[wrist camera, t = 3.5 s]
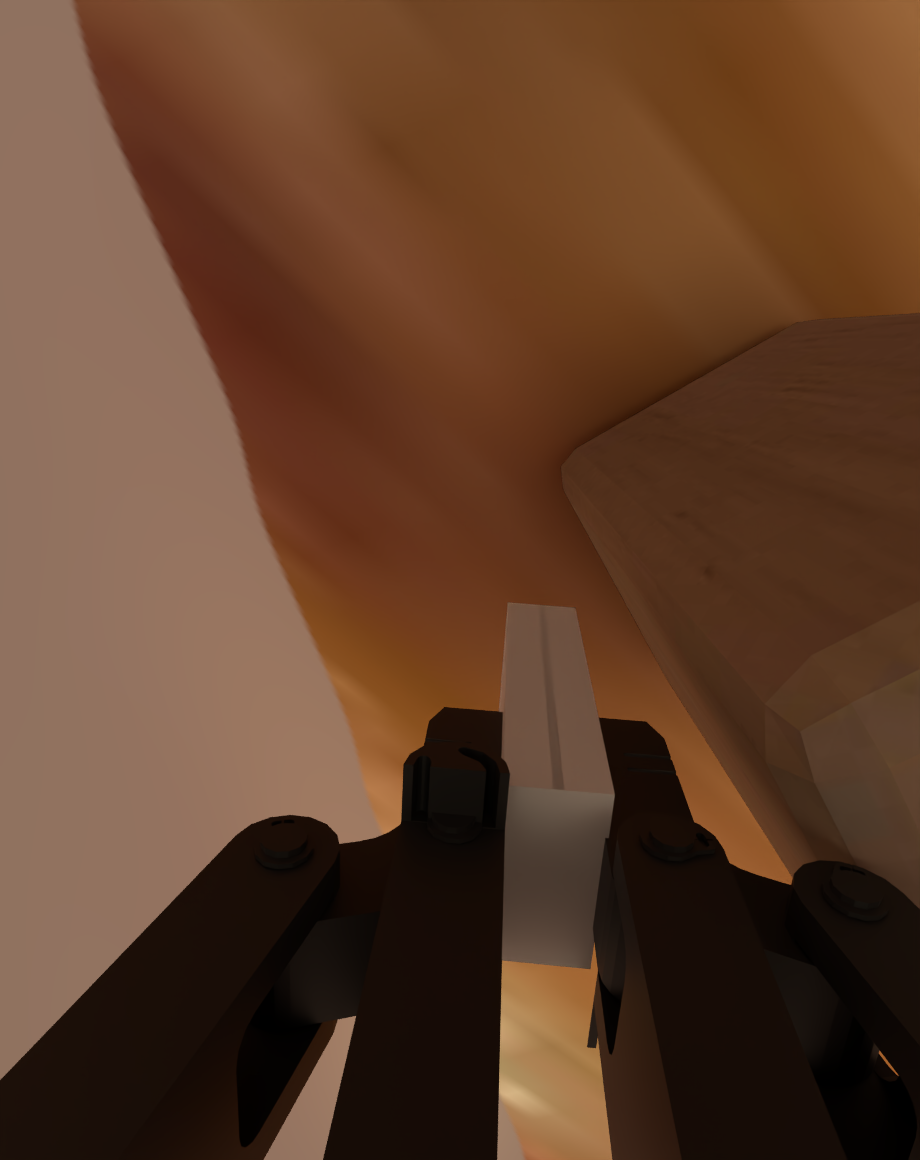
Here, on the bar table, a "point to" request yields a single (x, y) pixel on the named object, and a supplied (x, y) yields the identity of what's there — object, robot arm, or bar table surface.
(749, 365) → the wooden block
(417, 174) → the bar table surface
